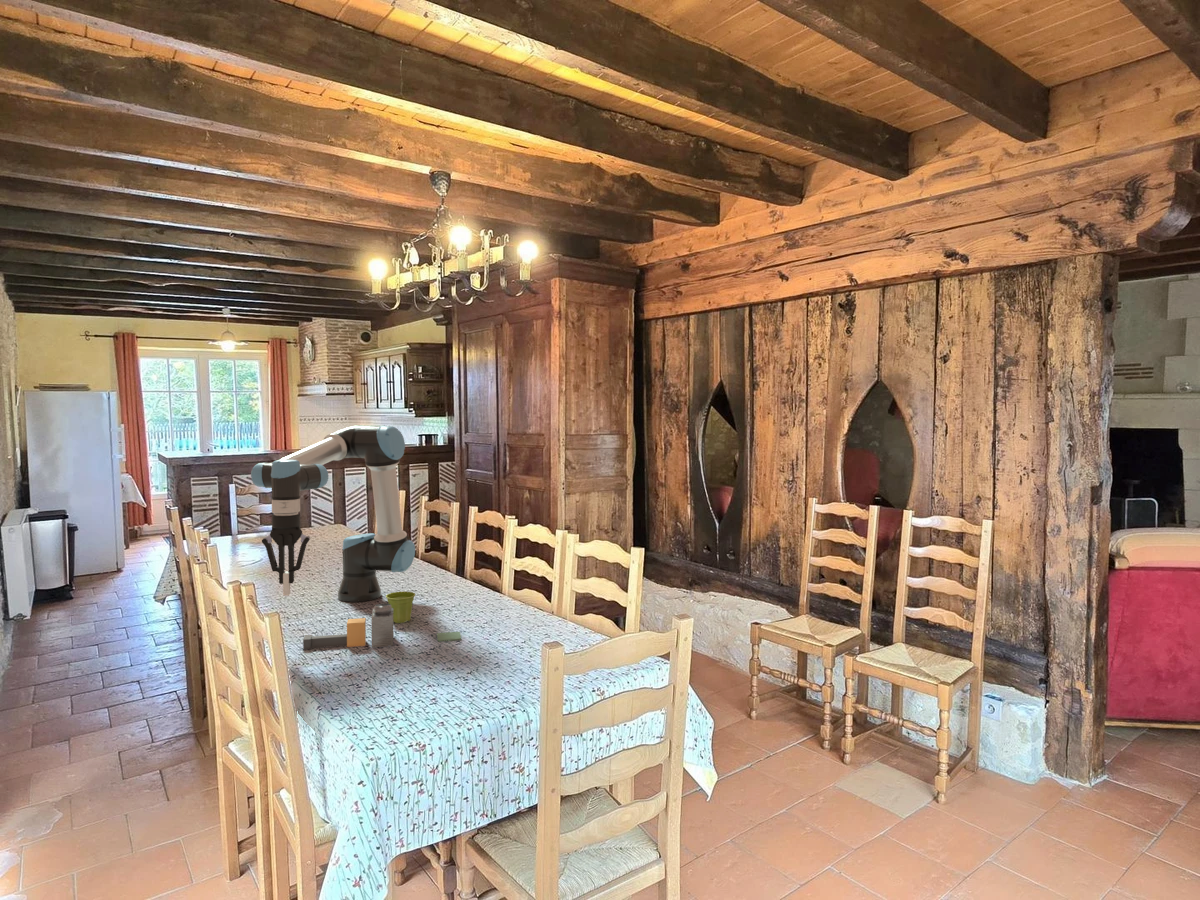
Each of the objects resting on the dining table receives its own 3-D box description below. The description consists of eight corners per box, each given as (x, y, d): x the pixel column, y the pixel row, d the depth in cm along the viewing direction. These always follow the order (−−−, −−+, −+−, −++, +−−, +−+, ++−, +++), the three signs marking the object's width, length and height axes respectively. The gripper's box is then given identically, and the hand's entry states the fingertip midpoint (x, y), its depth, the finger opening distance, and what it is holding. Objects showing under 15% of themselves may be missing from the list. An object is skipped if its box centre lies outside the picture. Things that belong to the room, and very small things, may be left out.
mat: (436, 634, 220) (436, 633, 220) (459, 633, 222) (459, 631, 222) (437, 641, 214) (437, 640, 214) (461, 640, 215) (461, 638, 215)
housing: (373, 638, 216) (372, 602, 216) (393, 636, 218) (393, 601, 217) (371, 647, 208) (371, 610, 207) (392, 646, 209) (392, 609, 209)
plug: (305, 645, 209) (305, 621, 209) (365, 640, 214) (365, 618, 213) (303, 650, 205) (302, 626, 204) (364, 645, 209) (364, 622, 209)
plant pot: (385, 625, 229) (385, 599, 228) (386, 617, 238) (386, 592, 237) (415, 623, 231) (415, 597, 231) (415, 615, 240) (415, 590, 240)
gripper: (258, 516, 198) (259, 599, 199) (308, 514, 202) (309, 596, 203) (263, 512, 205) (264, 592, 207) (312, 511, 209) (312, 590, 210)
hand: (286, 594), depth 205 cm, fingers closed
